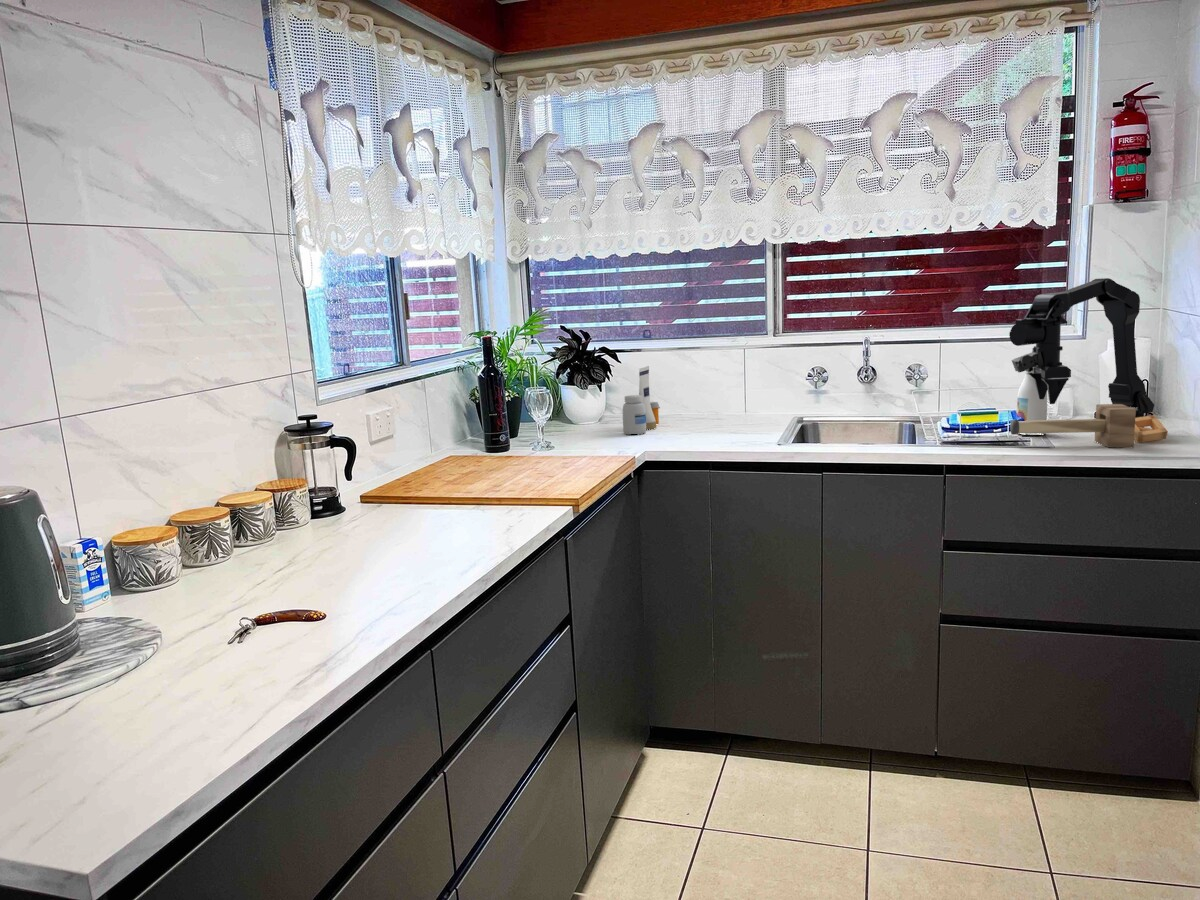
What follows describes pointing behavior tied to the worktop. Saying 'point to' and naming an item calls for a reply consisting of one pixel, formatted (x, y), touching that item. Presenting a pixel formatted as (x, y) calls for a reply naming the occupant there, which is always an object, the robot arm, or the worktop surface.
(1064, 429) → the shaft
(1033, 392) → the milk bottle
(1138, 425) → the frame
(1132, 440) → the bearing block
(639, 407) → the toiletry set
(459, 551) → the worktop surface
